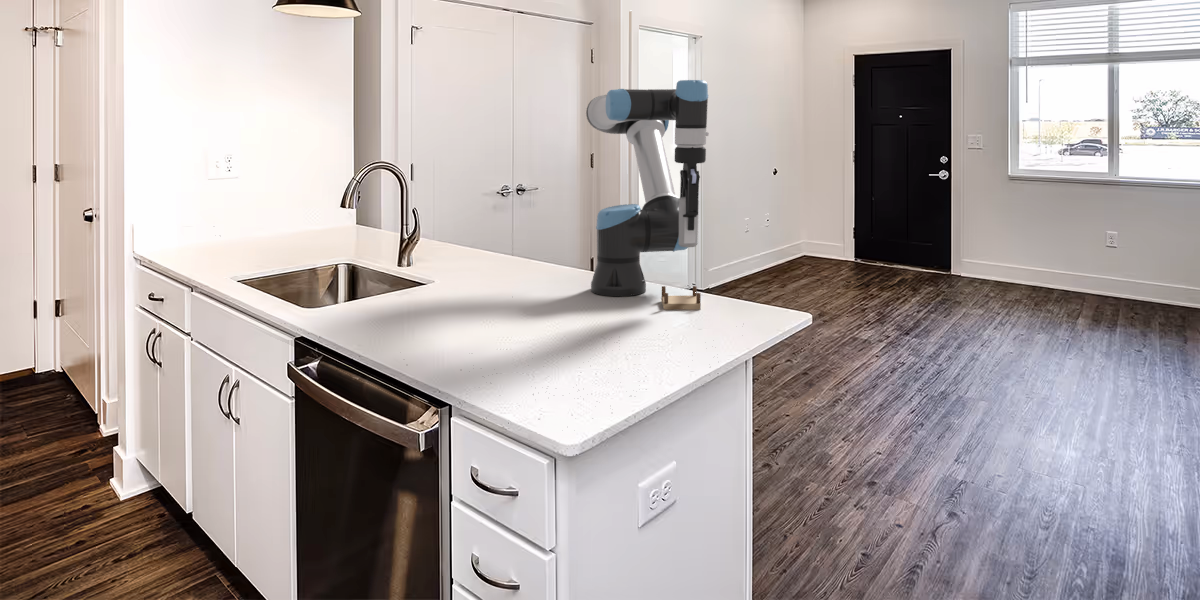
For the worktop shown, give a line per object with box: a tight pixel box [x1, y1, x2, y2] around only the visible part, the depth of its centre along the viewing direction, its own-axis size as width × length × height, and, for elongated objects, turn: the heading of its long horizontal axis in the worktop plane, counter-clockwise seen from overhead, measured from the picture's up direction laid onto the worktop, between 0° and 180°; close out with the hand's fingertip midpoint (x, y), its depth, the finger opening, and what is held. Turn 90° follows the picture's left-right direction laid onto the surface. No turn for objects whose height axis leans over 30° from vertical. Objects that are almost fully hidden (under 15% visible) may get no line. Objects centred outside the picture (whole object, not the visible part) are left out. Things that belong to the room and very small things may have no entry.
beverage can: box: [678, 196, 700, 248], centre depth 190 cm, size 5×5×12 cm
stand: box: [660, 285, 702, 311], centre depth 193 cm, size 9×9×4 cm
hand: (687, 240), depth 191 cm, fingers closed on beverage can, 5 cm apart
